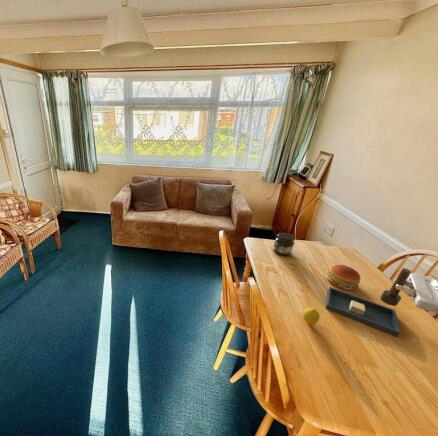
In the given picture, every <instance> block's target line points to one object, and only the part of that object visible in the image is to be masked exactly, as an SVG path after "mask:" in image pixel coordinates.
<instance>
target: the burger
mask: <svg viewBox="0 0 438 436" xmlns="http://www.w3.org/2000/svg"><path fill="white" fill-rule="evenodd" d="M325 279H326V280H327V281H328V282H329V283H330V284H331V285H332V286H334V287H336V288H339V289H341V290H345V291H351V290H354V289H356V288H358V287H359V284H360V283H361V275H360V273H359V272H358V271H357V270H356V269H354V268H353V267H351V266H348V265H345V264H334V265H331V266H329V268H328V272H327V273H326V274H325Z"/></svg>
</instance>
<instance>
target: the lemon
mask: <svg viewBox="0 0 438 436" xmlns="http://www.w3.org/2000/svg"><path fill="white" fill-rule="evenodd" d="M302 319H303V320H304V322H305V323H307V324H308V325H316V324H317V323H318V322H319V321H320V313H319V312H318V310H316V309H315V308H314V307H308V308H306V309H305V310H303V313H302Z"/></svg>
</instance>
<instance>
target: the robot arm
mask: <svg viewBox="0 0 438 436" xmlns="http://www.w3.org/2000/svg"><path fill="white" fill-rule="evenodd" d="M395 280H396V278H394V280H393V283H394V282H395ZM396 289H398V290H400V292H403V293H404V294H406V295H407V296H411V298H412V301H413V304H414V306H415V307H417V309H420V310H423V311H427V312H430V313H435V314H438V280H437V279H436V278H434V277H430V276H426V275H423V274H419V273H415V272H411V274H410V276H409V277H408V279H407V280H406V282H405V284H404V285H400V284H396Z"/></svg>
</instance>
